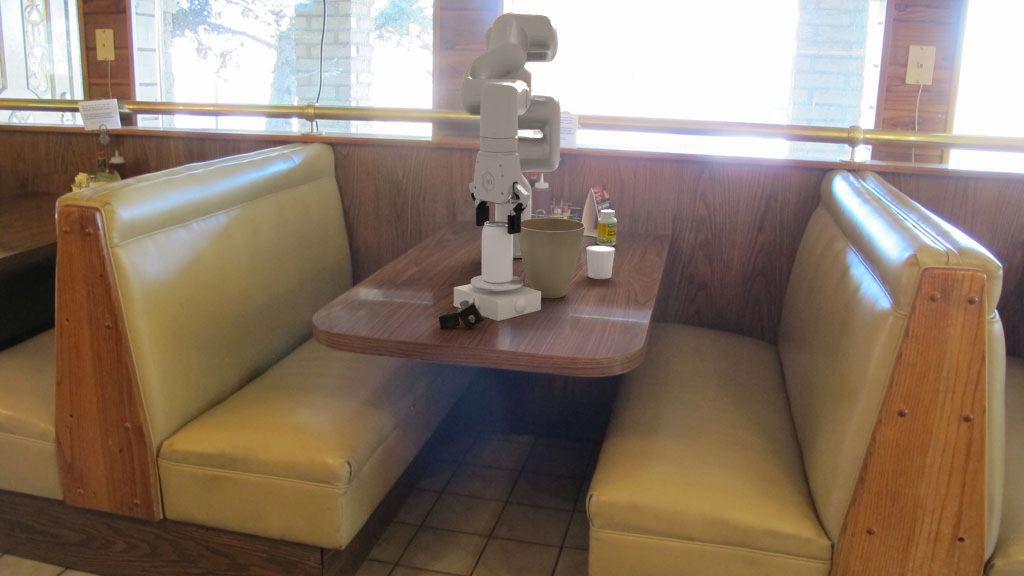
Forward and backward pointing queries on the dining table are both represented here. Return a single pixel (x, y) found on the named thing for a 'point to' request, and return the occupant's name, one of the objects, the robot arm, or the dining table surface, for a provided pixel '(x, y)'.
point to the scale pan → (512, 285)
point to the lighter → (462, 316)
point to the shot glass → (600, 261)
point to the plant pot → (550, 253)
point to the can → (497, 253)
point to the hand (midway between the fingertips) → (498, 229)
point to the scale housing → (499, 301)
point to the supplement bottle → (607, 228)
